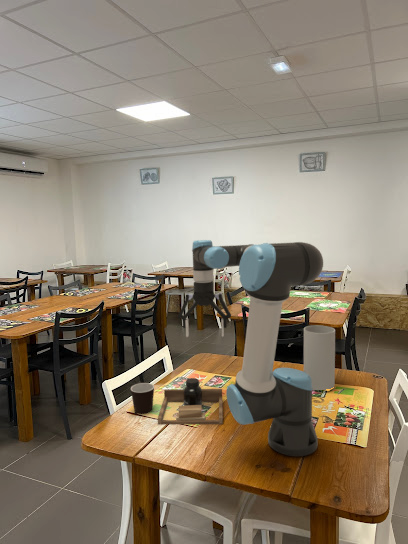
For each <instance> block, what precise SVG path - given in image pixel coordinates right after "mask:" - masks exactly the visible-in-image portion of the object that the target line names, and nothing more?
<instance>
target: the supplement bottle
mask: <svg viewBox="0 0 408 544" xmlns="http://www.w3.org/2000/svg"><path fill="white" fill-rule="evenodd" d="M201 387H202V386H200V380H199V379H198V378H195V377H192V378H191V377H190V378H188V379H186V381H185V387H184V388H183V389H184V402H183V406H189V405H201V409H203V402H202V389H203V388H201Z"/></svg>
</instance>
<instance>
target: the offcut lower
mask: <svg viewBox="0 0 408 544" xmlns="http://www.w3.org/2000/svg"><path fill="white" fill-rule="evenodd" d="M175 420H206V412H202V417H195V418H179V412H177V413H176V417H175Z"/></svg>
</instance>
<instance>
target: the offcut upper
mask: <svg viewBox="0 0 408 544" xmlns="http://www.w3.org/2000/svg"><path fill="white" fill-rule="evenodd" d="M202 409H203V408H202ZM202 409H201V405H189V406H184V405H179V406H178V413H179V418H195V417H202V413H203V412H202V411H203V410H202Z"/></svg>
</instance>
